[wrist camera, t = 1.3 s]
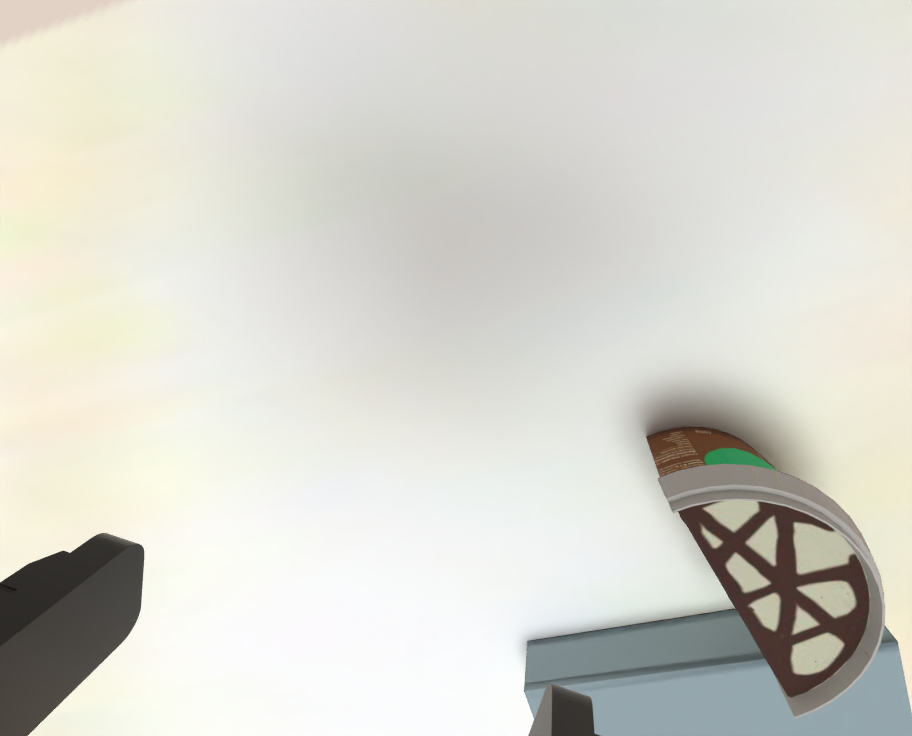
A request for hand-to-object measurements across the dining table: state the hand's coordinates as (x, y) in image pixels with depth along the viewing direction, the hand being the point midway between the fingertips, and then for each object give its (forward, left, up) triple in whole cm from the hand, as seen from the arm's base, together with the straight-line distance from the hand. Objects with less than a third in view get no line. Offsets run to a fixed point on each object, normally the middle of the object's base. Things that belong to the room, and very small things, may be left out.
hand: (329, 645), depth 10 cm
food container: (-12, +11, -24) cm, 29 cm away
